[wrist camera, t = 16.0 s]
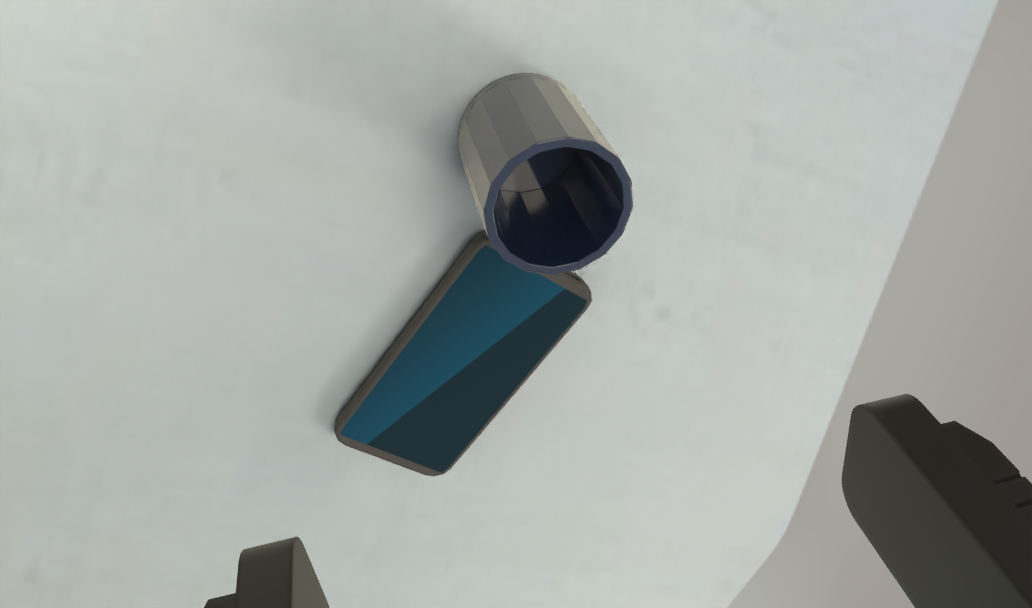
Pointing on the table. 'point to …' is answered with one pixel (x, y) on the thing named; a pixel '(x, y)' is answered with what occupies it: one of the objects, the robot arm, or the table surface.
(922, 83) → the table surface
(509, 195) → the pot
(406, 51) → the table surface
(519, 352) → the smartphone
